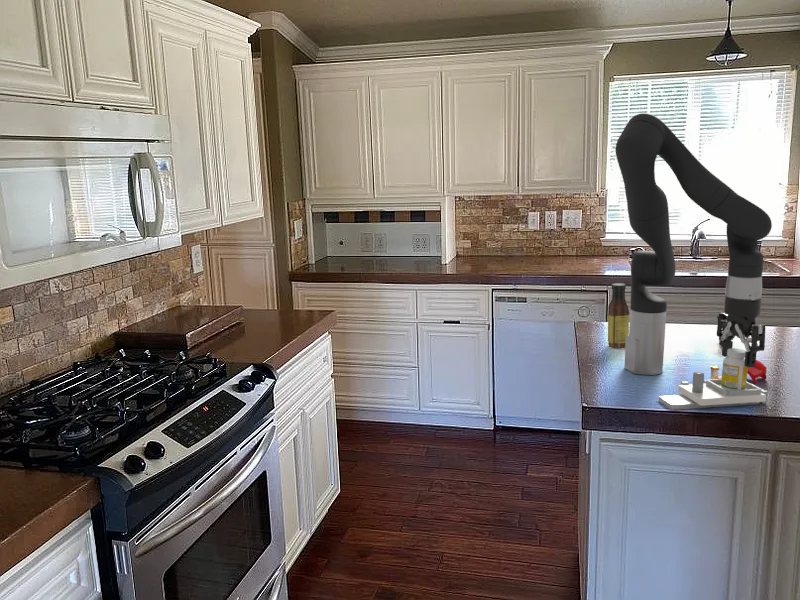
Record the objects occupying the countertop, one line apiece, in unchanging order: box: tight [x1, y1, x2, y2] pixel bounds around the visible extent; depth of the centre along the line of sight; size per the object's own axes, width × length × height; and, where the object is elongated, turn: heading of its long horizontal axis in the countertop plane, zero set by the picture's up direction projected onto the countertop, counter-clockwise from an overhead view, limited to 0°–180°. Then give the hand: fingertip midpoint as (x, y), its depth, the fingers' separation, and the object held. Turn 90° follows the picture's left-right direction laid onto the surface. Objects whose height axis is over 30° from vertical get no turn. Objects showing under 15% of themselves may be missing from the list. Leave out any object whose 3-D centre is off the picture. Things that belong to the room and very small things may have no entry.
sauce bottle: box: [607, 282, 630, 350], centre depth 205 cm, size 6×6×20 cm
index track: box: [658, 365, 768, 411], centre depth 160 cm, size 24×12×6 cm, turn 97°
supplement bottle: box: [721, 347, 748, 391], centre depth 157 cm, size 5×5×10 cm
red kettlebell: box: [747, 359, 768, 385], centre depth 172 cm, size 8×6×6 cm
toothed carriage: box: [677, 371, 766, 406], centre depth 158 cm, size 16×11×6 cm
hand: (737, 361), depth 157 cm, fingers open, 8 cm apart
